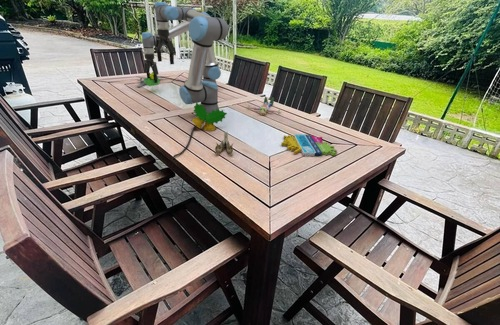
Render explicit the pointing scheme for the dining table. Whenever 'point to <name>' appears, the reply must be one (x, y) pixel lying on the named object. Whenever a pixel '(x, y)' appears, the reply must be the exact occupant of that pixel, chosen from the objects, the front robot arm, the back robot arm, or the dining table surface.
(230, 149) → the jawbone
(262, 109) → the toy
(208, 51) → the back robot arm
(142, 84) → the airplane
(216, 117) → the ornament
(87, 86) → the dining table surface
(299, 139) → the colourful gloves pack
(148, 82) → the green box with toys
